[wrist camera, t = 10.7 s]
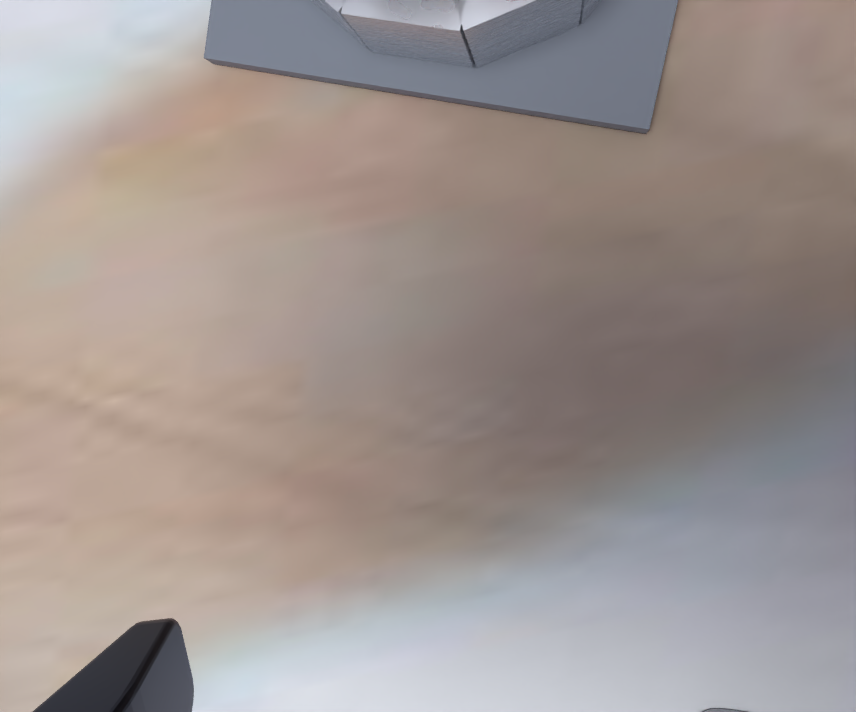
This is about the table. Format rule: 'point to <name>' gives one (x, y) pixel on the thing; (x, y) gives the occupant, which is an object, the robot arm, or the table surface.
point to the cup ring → (455, 26)
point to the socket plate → (484, 86)
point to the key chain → (721, 710)
